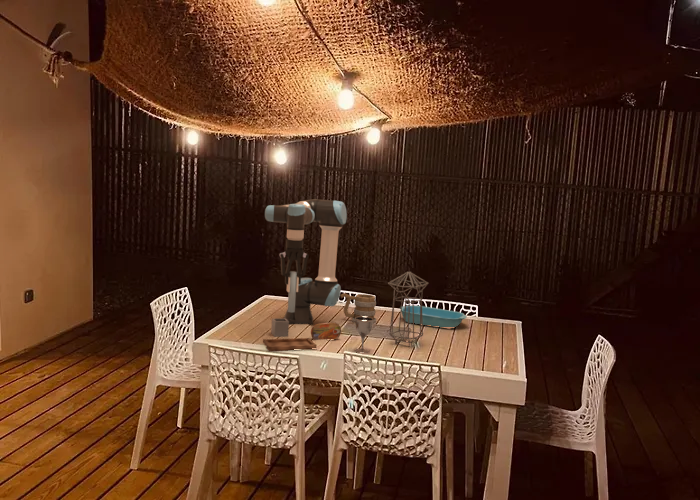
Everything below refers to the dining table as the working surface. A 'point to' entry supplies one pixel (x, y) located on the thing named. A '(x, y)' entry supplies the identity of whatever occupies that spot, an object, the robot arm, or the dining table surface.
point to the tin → (325, 331)
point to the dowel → (292, 291)
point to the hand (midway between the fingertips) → (292, 291)
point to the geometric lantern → (409, 305)
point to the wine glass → (363, 330)
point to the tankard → (360, 306)
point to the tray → (288, 344)
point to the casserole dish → (433, 316)
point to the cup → (280, 327)
